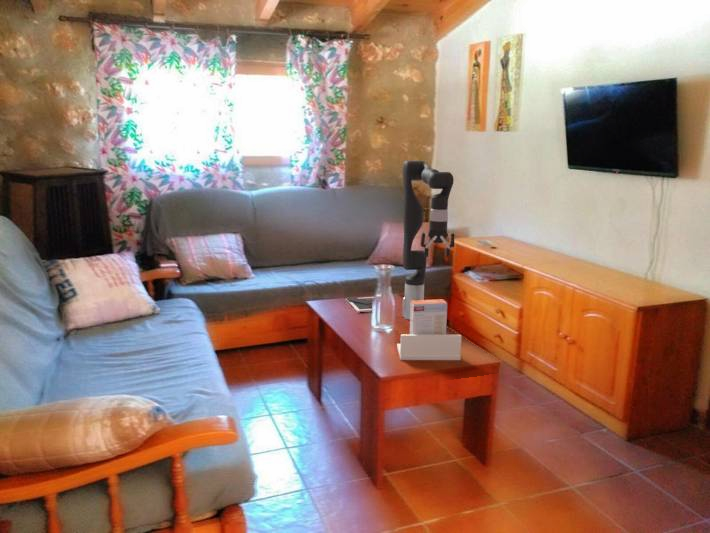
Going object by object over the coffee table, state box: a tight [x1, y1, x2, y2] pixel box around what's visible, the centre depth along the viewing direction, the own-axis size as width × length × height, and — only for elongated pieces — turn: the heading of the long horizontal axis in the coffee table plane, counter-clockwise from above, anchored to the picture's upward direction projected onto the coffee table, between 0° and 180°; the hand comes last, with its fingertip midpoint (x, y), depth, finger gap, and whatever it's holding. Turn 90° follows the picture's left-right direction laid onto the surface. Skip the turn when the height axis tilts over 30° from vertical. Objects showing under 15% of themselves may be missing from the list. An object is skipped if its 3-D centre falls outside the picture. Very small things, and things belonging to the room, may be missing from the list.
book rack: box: [396, 333, 462, 361], centre depth 239 cm, size 14×24×10 cm, turn 92°
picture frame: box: [345, 296, 375, 312], centre depth 301 cm, size 16×3×21 cm
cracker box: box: [409, 298, 448, 335], centre depth 237 cm, size 14×6×21 cm, turn 99°
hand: (436, 256), depth 252 cm, fingers open, 8 cm apart
